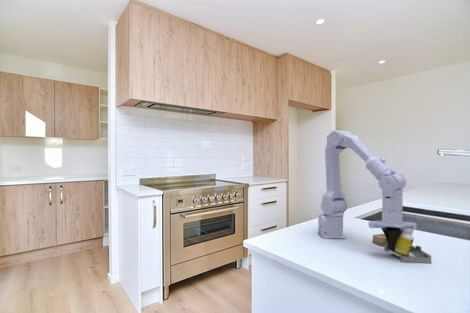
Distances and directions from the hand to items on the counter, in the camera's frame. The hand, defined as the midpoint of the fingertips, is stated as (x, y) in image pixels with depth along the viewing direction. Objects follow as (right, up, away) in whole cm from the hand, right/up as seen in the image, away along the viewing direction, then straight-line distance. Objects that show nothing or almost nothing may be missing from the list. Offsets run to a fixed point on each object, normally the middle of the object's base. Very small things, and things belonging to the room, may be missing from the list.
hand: (392, 249), depth 81 cm
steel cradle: (+5, -2, +1) cm, 5 cm away
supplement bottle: (+2, -2, 0) cm, 3 cm away
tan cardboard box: (+4, -2, +12) cm, 12 cm away
